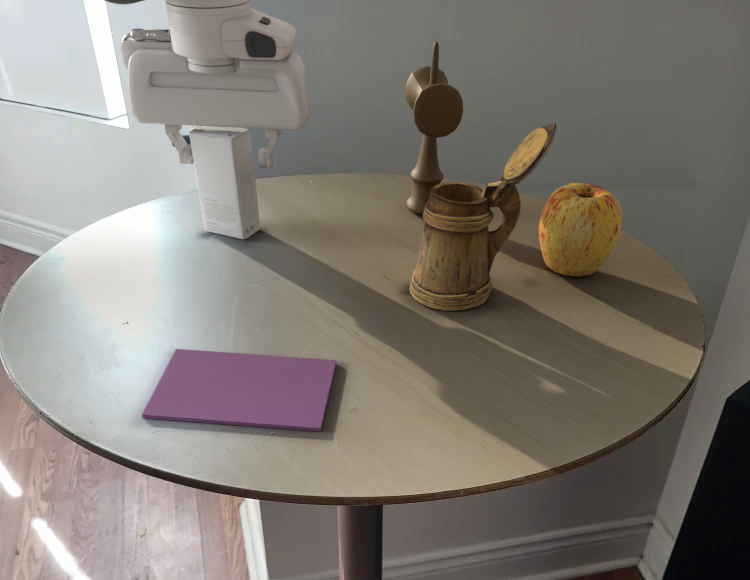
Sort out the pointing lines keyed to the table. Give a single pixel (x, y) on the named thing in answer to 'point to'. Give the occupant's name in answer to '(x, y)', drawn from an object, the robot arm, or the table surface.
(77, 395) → the table surface
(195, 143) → the cosmetic box
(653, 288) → the table surface
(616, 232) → the apple
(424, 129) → the kendama
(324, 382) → the purple rectangular board
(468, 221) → the wooden mug
